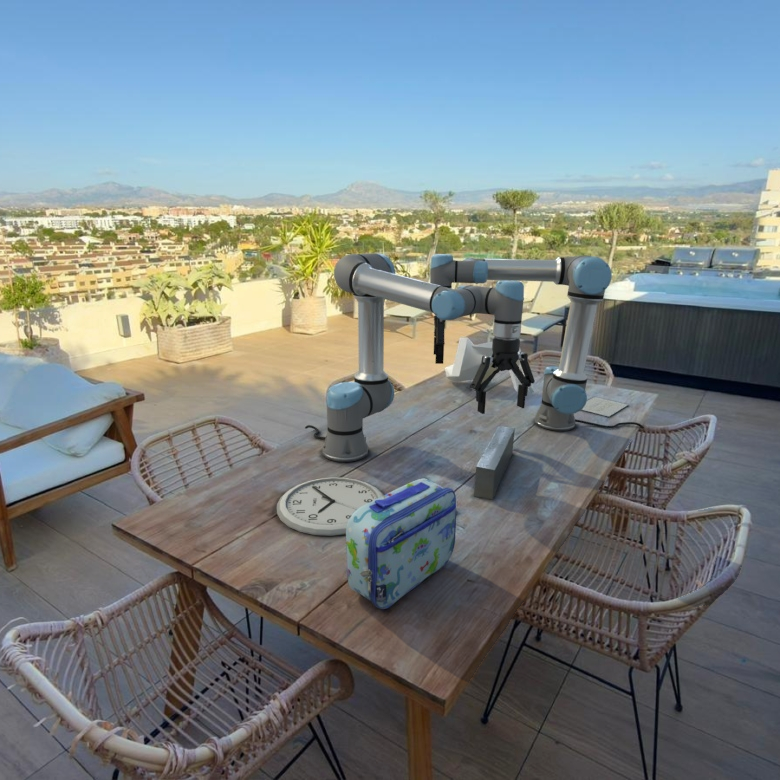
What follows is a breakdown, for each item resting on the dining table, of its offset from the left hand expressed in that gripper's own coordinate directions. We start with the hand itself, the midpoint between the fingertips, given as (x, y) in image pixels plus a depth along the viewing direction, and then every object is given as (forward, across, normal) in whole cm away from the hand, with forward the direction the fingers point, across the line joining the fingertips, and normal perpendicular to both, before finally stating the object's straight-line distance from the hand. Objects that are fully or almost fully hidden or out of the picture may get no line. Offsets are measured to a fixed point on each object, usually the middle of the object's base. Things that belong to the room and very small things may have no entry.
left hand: (501, 409), depth 152 cm
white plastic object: (+22, +48, +82) cm, 97 cm away
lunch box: (+23, -45, -33) cm, 60 cm away
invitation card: (+23, +82, +42) cm, 95 cm away
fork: (+23, -25, -15) cm, 37 cm away
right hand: (-5, +2, +43) cm, 44 cm away
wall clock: (+22, -50, +4) cm, 55 cm away
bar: (+23, +3, +4) cm, 23 cm away
